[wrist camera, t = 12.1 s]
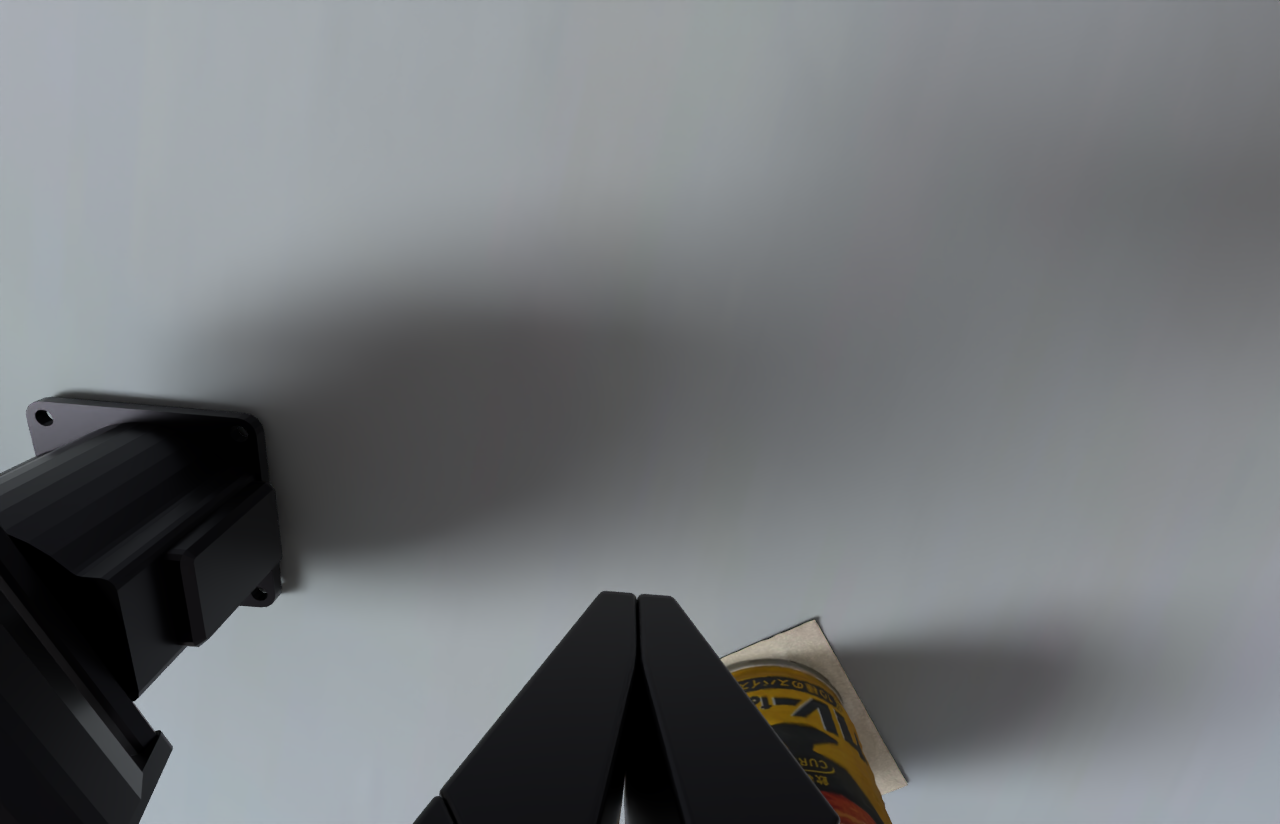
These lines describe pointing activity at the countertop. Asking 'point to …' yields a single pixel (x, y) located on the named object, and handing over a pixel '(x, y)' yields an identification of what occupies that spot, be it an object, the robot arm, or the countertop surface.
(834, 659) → the condiment
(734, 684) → the robot arm
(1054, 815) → the countertop surface
